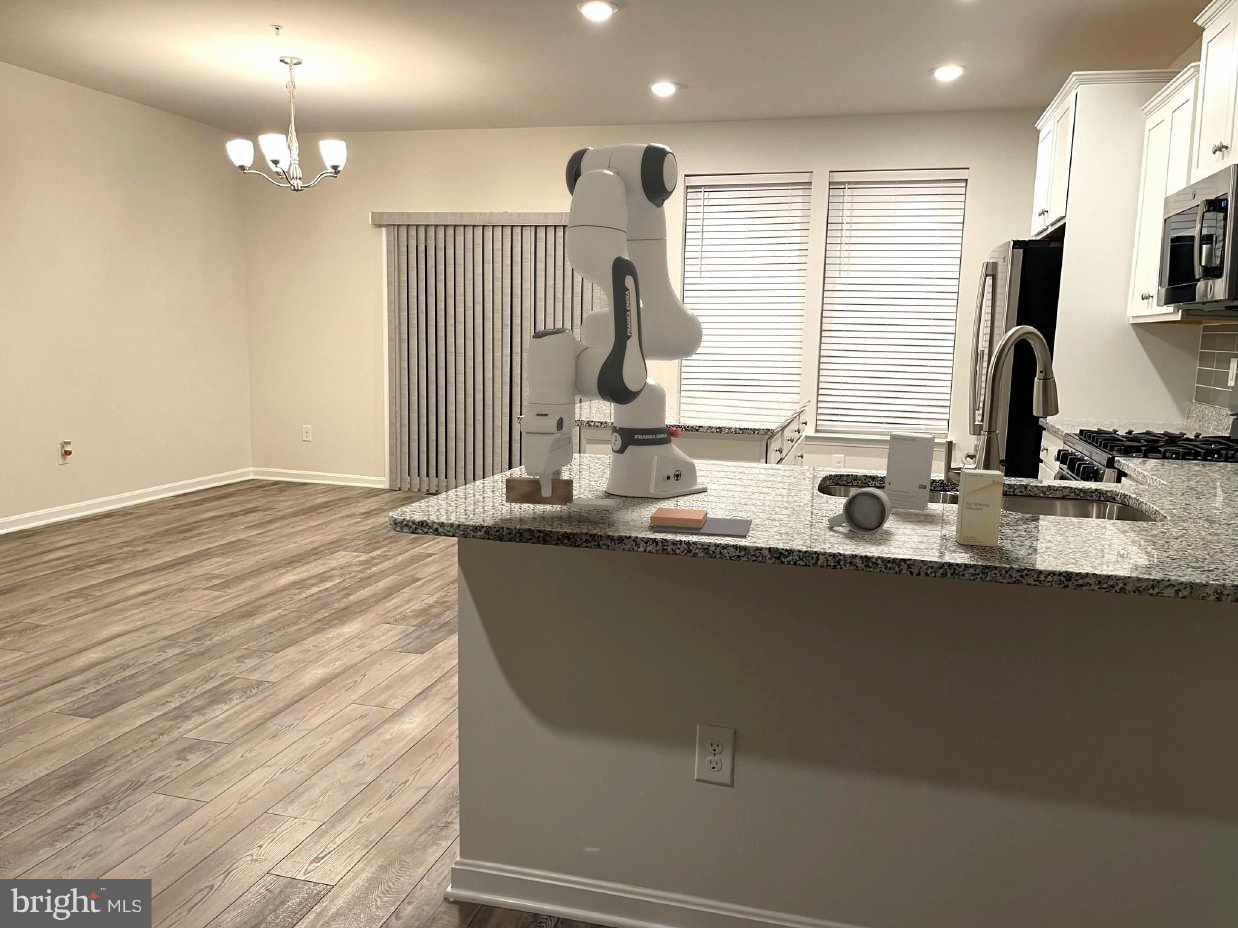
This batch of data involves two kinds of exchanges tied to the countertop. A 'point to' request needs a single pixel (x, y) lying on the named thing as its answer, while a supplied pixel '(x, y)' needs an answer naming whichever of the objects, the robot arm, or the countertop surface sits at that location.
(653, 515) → the tile
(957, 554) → the countertop surface
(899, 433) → the skincare box
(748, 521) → the mat
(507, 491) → the turner
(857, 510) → the ceramic mug
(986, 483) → the skincare box
